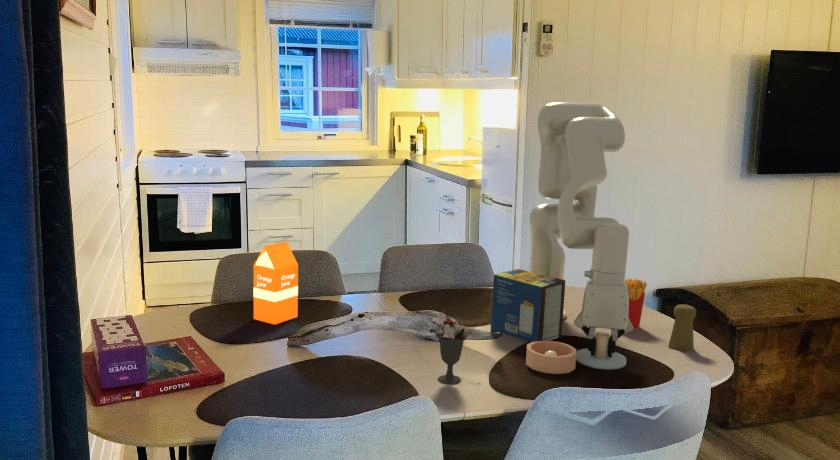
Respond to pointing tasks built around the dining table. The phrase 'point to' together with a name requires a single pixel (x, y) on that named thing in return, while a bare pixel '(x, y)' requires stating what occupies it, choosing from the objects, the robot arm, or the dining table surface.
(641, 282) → the french fries
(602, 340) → the lid
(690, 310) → the cork
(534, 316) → the protein box
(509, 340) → the dining table surface
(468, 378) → the dining table surface
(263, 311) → the orange juice
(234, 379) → the dining table surface
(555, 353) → the egg
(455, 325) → the sundae
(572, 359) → the bowl
